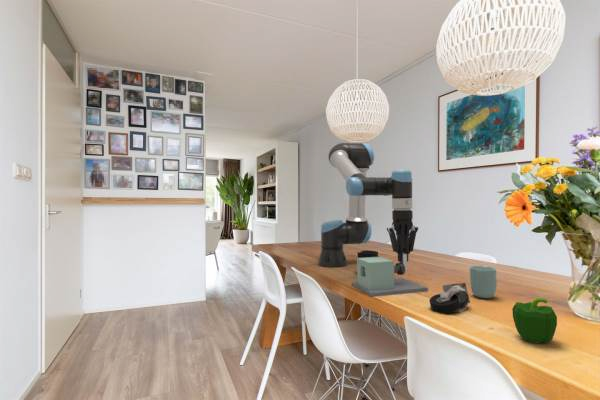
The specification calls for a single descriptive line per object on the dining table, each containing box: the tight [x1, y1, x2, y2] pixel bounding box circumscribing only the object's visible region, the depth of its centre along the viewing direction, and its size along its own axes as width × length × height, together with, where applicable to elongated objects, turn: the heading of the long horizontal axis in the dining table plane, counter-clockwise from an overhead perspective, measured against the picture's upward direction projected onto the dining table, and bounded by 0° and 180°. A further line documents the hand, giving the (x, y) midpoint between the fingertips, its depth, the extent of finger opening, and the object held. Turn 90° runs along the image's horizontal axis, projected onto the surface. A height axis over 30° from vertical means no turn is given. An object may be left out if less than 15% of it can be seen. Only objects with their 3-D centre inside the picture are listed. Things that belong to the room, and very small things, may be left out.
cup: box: [469, 265, 498, 300], centre depth 106 cm, size 8×8×10 cm
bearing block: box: [351, 256, 429, 297], centre depth 119 cm, size 16×23×11 cm
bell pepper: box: [511, 297, 558, 344], centre depth 73 cm, size 8×8×10 cm
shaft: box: [364, 262, 406, 276], centre depth 119 cm, size 5×16×5 cm, turn 105°
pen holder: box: [357, 249, 379, 258], centre depth 144 cm, size 9×9×10 cm
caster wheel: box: [429, 282, 471, 314], centre depth 94 cm, size 7×11×10 cm
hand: (403, 270), depth 121 cm, fingers closed
